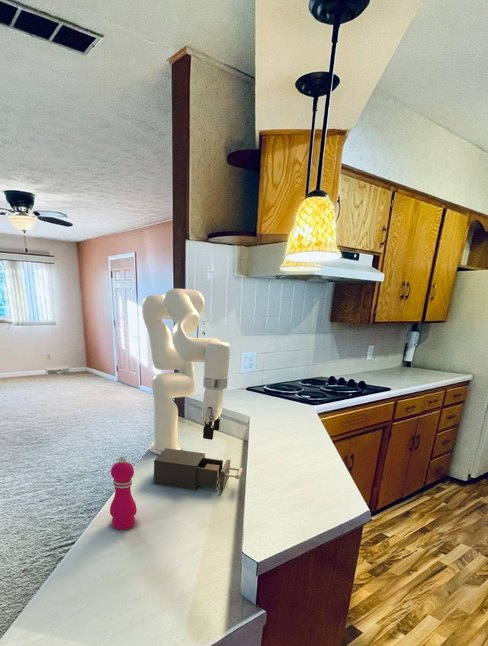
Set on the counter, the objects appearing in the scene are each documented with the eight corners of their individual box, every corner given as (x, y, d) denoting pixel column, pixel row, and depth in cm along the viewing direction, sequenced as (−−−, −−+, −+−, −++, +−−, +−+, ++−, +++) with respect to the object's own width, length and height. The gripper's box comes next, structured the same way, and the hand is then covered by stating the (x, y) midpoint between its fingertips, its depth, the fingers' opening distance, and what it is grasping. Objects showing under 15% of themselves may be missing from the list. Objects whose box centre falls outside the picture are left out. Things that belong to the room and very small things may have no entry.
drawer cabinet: (204, 475, 148) (205, 453, 145) (195, 490, 136) (196, 466, 133) (165, 470, 151) (166, 448, 147) (153, 483, 139) (153, 460, 136)
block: (206, 475, 143) (207, 463, 142) (218, 477, 142) (219, 465, 141) (203, 480, 139) (204, 468, 137) (216, 482, 138) (217, 470, 137)
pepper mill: (131, 532, 110) (130, 463, 102) (105, 528, 111) (103, 460, 104) (140, 519, 117) (140, 454, 109) (116, 515, 118) (114, 450, 110)
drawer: (242, 479, 144) (244, 461, 142) (237, 493, 134) (239, 474, 131) (192, 472, 148) (193, 454, 145) (183, 484, 137) (184, 466, 135)
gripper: (209, 376, 137) (206, 425, 144) (196, 386, 121) (193, 441, 128) (231, 379, 136) (227, 428, 142) (221, 389, 120) (216, 444, 127)
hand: (211, 434), depth 135 cm, fingers open, 9 cm apart
